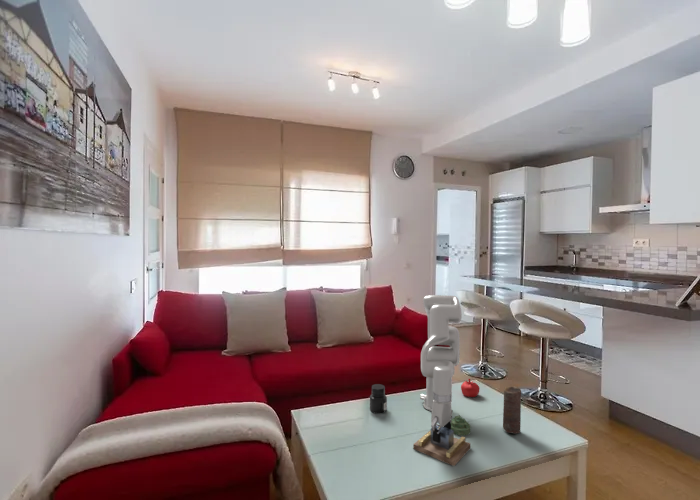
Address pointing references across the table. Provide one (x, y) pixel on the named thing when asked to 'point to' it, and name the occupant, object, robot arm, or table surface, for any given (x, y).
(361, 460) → the table surface
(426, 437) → the channel stand
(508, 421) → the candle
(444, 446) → the block
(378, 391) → the ink bottle
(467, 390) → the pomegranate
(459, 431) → the decorative artifact
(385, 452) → the table surface
